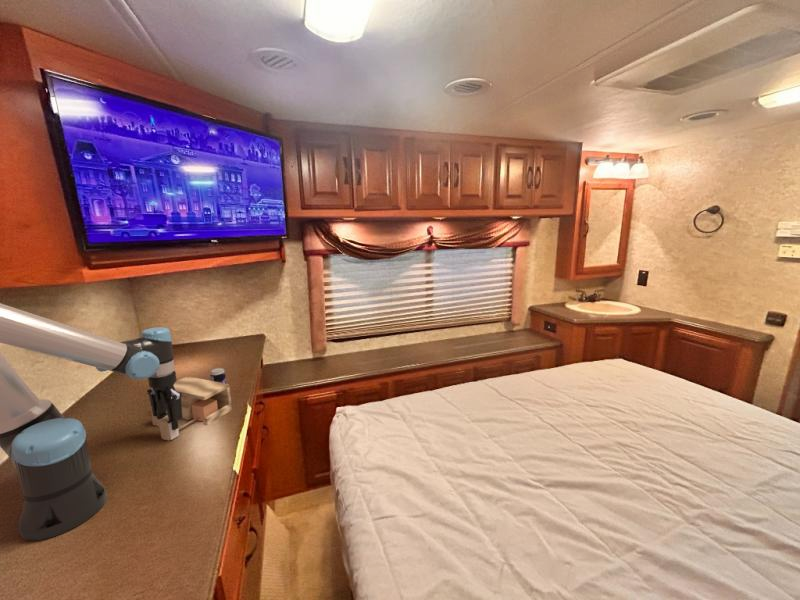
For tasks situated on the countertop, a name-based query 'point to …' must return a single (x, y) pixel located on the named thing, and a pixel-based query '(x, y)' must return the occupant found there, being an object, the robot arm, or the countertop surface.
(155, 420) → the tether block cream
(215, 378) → the beverage can
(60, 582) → the countertop surface
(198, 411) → the tether block terracotta
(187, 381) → the shelf
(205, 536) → the countertop surface
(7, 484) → the countertop surface
